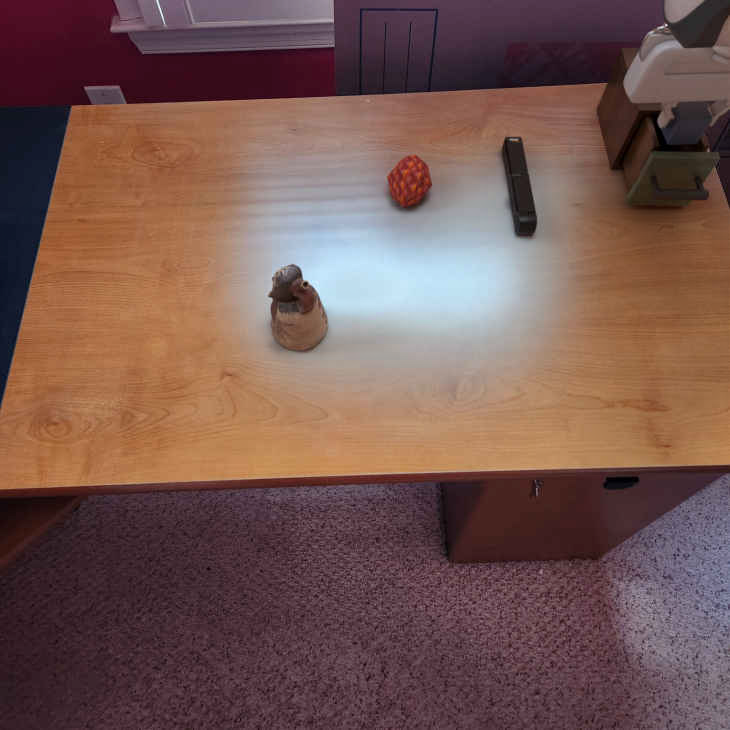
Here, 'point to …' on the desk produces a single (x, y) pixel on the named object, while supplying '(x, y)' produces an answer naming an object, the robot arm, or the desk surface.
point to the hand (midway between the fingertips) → (684, 124)
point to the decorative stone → (409, 180)
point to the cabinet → (621, 110)
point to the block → (688, 123)
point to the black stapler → (519, 186)
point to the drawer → (665, 167)
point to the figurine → (296, 310)
